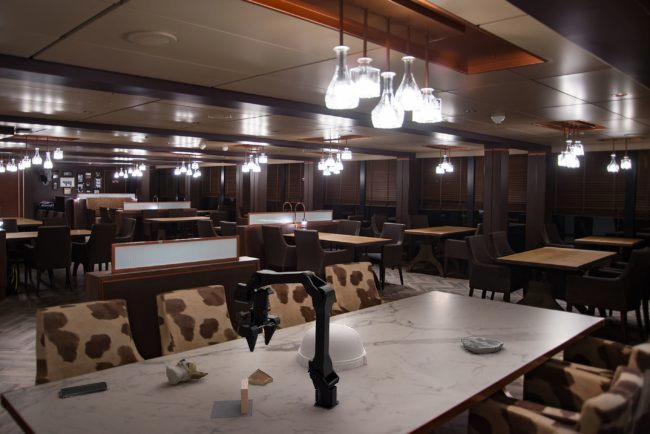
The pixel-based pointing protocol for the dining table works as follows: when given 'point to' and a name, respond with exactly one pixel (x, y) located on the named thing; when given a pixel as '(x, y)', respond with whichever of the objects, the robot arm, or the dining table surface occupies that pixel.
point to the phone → (83, 389)
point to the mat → (230, 409)
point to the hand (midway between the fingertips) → (259, 348)
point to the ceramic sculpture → (183, 372)
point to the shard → (259, 378)
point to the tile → (244, 396)
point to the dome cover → (335, 348)
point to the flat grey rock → (482, 344)
